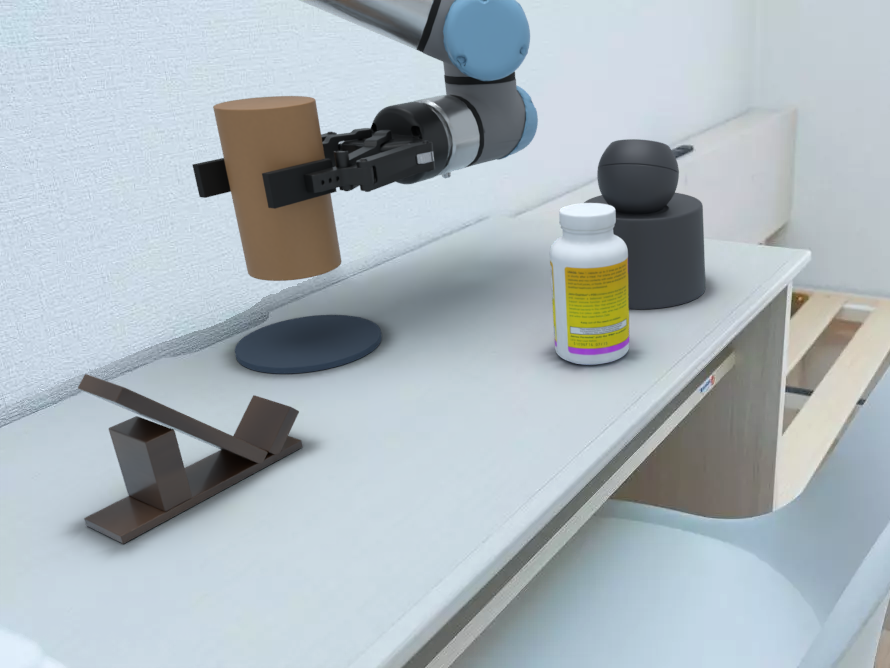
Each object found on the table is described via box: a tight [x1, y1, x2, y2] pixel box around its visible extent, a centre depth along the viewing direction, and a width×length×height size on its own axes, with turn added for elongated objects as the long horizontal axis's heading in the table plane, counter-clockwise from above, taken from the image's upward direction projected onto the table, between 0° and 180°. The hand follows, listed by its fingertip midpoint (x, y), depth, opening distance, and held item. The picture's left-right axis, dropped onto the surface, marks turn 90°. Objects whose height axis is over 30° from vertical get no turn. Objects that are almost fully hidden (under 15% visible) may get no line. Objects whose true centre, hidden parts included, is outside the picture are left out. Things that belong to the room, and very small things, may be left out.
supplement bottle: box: [549, 202, 630, 366], centre depth 77 cm, size 7×7×13 cm
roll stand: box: [77, 373, 303, 545], centre depth 59 cm, size 4×14×9 cm, turn 148°
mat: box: [234, 314, 383, 375], centre depth 83 cm, size 13×13×1 cm
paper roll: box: [212, 95, 342, 282], centre depth 76 cm, size 8×16×16 cm
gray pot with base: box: [583, 138, 707, 310], centre depth 92 cm, size 13×16×14 cm
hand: (232, 186), depth 72 cm, fingers closed on paper roll, 8 cm apart
